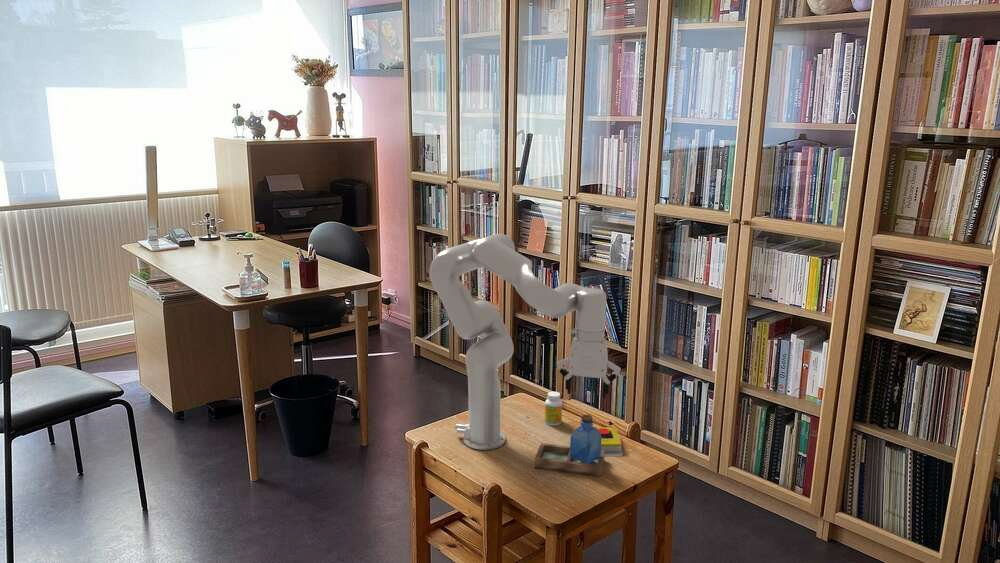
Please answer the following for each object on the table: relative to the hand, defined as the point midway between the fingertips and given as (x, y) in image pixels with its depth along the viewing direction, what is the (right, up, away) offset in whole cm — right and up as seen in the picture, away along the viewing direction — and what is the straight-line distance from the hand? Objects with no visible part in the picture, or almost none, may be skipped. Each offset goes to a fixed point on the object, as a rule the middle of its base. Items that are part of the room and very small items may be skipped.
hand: (586, 393), depth 197 cm
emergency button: (+7, -19, +18) cm, 27 cm away
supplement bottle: (-7, -14, +33) cm, 36 cm away
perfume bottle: (0, -18, +4) cm, 19 cm away
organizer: (-4, -21, +6) cm, 22 cm away
